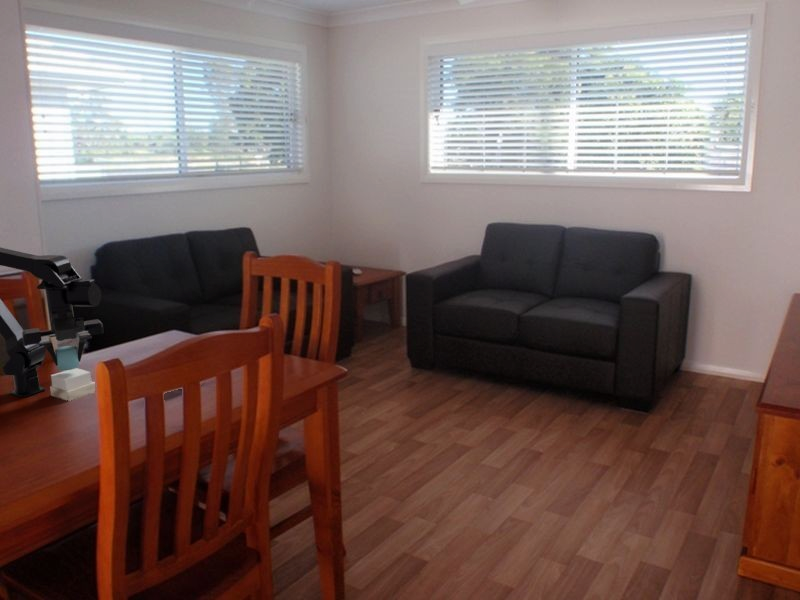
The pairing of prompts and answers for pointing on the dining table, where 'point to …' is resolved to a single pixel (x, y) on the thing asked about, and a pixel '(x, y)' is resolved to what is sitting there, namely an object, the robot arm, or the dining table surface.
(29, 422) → the dining table surface
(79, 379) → the top block
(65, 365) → the light teal cube
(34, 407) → the dining table surface
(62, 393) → the base slab
